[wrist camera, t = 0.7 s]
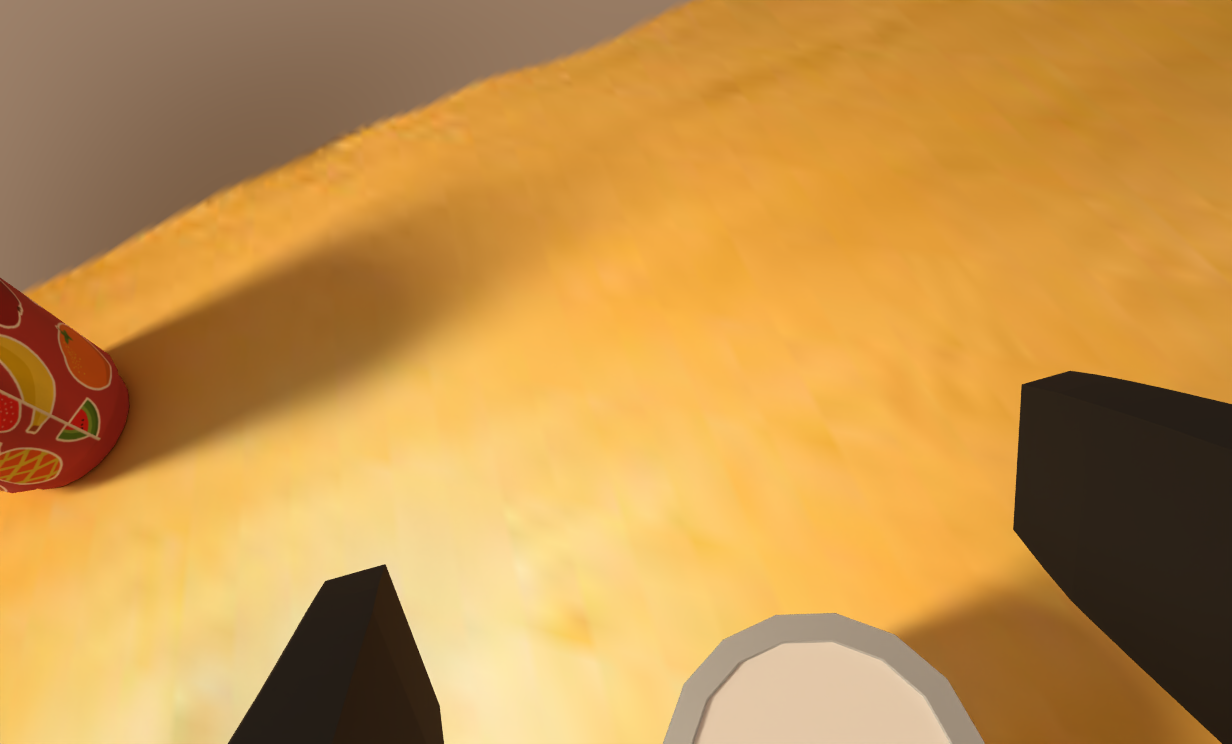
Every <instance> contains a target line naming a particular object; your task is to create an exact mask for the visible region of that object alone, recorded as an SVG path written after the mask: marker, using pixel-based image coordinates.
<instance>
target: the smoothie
mask: <svg viewBox="0 0 1232 744" xmlns="http://www.w3.org/2000/svg"><path fill="white" fill-rule="evenodd" d="M128 410H129V397H128V389H127V388H126V386H125V384H124V382H123V380H122V378H121V377H120V376H119V375H118V370H117V368H116V366H115V364H114V362H113V361H112V359H111V357H110V355H109V354H107V353H106V352H104V351H103V350H101V349H100V348H99V347H97V346H96V345H94V344H93V343H92V342H90V341H89V340H87V339H86V338H85V337H83V336H82V335H80V334H79V333H78V332H76V331H75V330H73V329H72V328H70V327H69V326H68V325H66V324H65V323H63V322H62V321H61V320H59V319H58V318H56V317H55V316H54V315H52V314H51V313H49V312H48V311H46V310H45V309H44V308H42V307H41V306H39V305H38V304H37V303H35V302H34V301H32V300H31V299H30V298H28V297H27V296H25V295H24V294H22V293H21V292H20V291H18V290H17V289H15V288H14V287H13V286H11V285H10V284H8V283H7V282H5V281H4V280H3V279H1V278H0V490H1V491H5V492H10V493H16V492H23V491H29V490H35V489H37V488H38V489H43V490H44V489H50V488H56V487H62V486H64V485H67V484H69V483H71V482H73V481H75V480H77V479H80V478H82V477H83V476H84V475H85V474H87V473H88V472H89V471H91V470H92V469H93V468H94V467H96V466H97V465H98V464H99V463H100V462H101V461H102V460H103V459H104V457H105V456H106V455H107V454H108V453H109V452H110V450H111V449H112V448H113V447H114V446H115V444H116V442H117V440H118V438H119V436H120V434H121V432H122V430H123V428H124V426H125V423H126V418H127V414H128Z"/></svg>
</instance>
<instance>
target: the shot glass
mask: <svg viewBox="0 0 1232 744" xmlns="http://www.w3.org/2000/svg"><path fill="white" fill-rule="evenodd" d="M663 744H985V743H984V741H983V739H982V737H981V736H980V734H979V732H978V731H977V729H976V727H975V725H974V724H973V722H972V720H971V719H970V717H969V715H968V713H967V712H966V710H965V708H964V707H963V705H962V703H961V701H960V700H959V698H958V696H957V695H956V693H955V691H954V689H953V688H952V686H951V684H950V683H949V681H948V679H947V678H946V677H944V676H943V675H942V674H941V673H940V672H938V671H937V670H936V669H935V668H934V667H932V666H931V665H930V664H929V663H928V662H927V661H925V660H924V659H923V658H922V657H921V656H919V655H918V654H917V653H916V652H915V651H914V650H912V649H911V648H910V647H909V646H908V645H906V644H905V643H904V642H903V641H902V640H901V639H899V638H898V637H897V636H896V635H894V634H891V633H889V632H886V631H883V630H880V629H878V628H875V627H872V626H869V625H867V624H864V623H861V622H858V621H856V620H853V619H850V618H847V617H845V616H842V615H839V614H836V613H823V614H794V615H775V616H773V617H771V618H768V619H766V620H764V621H762V622H760V623H758V624H756V625H753V626H751V627H749V628H747V629H745V630H743V631H741V632H739V633H736V634H734V635H732V636H730V637H728V638H726V639H724V640H723V641H722V642H721V643H720V644H719V645H718V646H717V647H716V648H715V650H714V651H713V652H712V653H711V654H710V655H709V656H708V657H707V659H706V660H705V661H704V662H703V663H702V664H701V665H700V666H699V668H698V669H697V670H696V671H695V672H694V673H693V674H692V675H691V677H690V678H689V679H688V680H687V681H686V682H685V683H684V685H683V688H682V691H681V694H680V697H679V699H678V702H677V705H676V708H675V711H674V714H673V716H672V719H671V722H670V725H669V728H668V731H667V733H666V736H665V739H664V742H663Z"/></svg>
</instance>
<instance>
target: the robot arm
mask: <svg viewBox="0 0 1232 744" xmlns="http://www.w3.org/2000/svg"><path fill="white" fill-rule="evenodd" d="M1013 530H1014V531H1015V532H1016V533H1017V535H1018V536H1019V537H1020V539H1021V540H1022V541H1023V542H1024V544H1025V545H1026V546H1027V548H1028V549H1029V550H1030V551H1031V553H1032V554H1033V555H1034V556H1035V558H1036V559H1037V560H1038V562H1039V563H1040V564H1041V565H1042V567H1043V568H1044V569H1045V570H1046V571H1047V573H1048V574H1049V575H1050V576H1051V577H1052V579H1053V580H1054V581H1055V582H1056V583H1057V584H1058V586H1059V587H1060V588H1061V589H1062V590H1063V591H1064V593H1065V594H1066V595H1067V596H1068V597H1069V599H1070V600H1071V601H1072V602H1073V603H1074V604H1075V605H1076V606H1077V607H1078V608H1079V609H1080V610H1081V611H1082V612H1083V613H1084V614H1085V615H1086V616H1087V617H1088V618H1089V619H1090V620H1092V621H1093V622H1094V623H1095V624H1096V625H1097V626H1098V627H1099V628H1100V629H1101V630H1102V631H1103V632H1104V633H1105V634H1106V635H1107V636H1108V637H1109V638H1110V639H1111V640H1112V641H1114V642H1115V643H1116V644H1117V645H1118V646H1119V647H1120V648H1121V649H1122V650H1123V651H1124V652H1125V653H1126V654H1127V655H1128V656H1129V657H1130V658H1131V659H1132V660H1133V661H1135V662H1136V663H1137V664H1138V665H1139V666H1140V667H1141V668H1142V669H1143V670H1144V671H1145V672H1146V673H1147V674H1148V675H1150V676H1151V677H1152V678H1153V679H1154V680H1155V681H1156V682H1157V683H1158V684H1159V685H1160V686H1161V687H1162V688H1163V689H1164V690H1166V691H1167V692H1168V693H1169V694H1170V695H1171V696H1172V697H1173V698H1174V699H1175V700H1176V701H1177V702H1178V703H1179V704H1181V705H1182V706H1183V707H1184V708H1185V709H1186V710H1187V711H1188V712H1189V713H1190V714H1191V715H1192V716H1193V717H1194V718H1195V719H1197V720H1198V721H1199V722H1200V723H1201V724H1202V725H1203V726H1204V727H1205V728H1206V729H1207V730H1208V731H1209V732H1210V733H1211V734H1213V735H1214V736H1215V737H1216V738H1217V739H1218V740H1219V741H1220V742H1221V743H1222V744H1232V404H1228V403H1224V402H1220V401H1216V400H1211V399H1207V398H1203V397H1198V396H1194V395H1190V394H1186V393H1181V392H1177V391H1173V390H1168V389H1164V388H1160V387H1155V386H1150V385H1146V384H1141V383H1136V382H1132V381H1127V380H1122V379H1117V378H1112V377H1106V376H1101V375H1095V374H1088V373H1081V372H1075V371H1068V372H1065V373H1061V374H1057V375H1054V376H1050V377H1047V378H1043V379H1040V380H1036V381H1033V382H1029V383H1026V384H1022V390H1021V407H1020V424H1019V441H1018V458H1017V475H1016V492H1015V510H1014V527H1013ZM228 744H444V740H443V731H442V723H441V714H440V706H439V703H438V700H437V698H436V695H435V692H434V690H433V687H432V685H431V682H430V679H429V677H428V674H427V672H426V669H425V666H424V664H423V661H422V659H421V656H420V653H419V651H418V648H417V645H416V643H415V640H414V638H413V635H412V632H411V630H410V627H409V625H408V622H407V619H406V617H405V614H404V612H403V609H402V606H401V604H400V601H399V598H398V596H397V593H396V591H395V588H394V585H393V583H392V580H391V578H390V575H389V572H388V570H387V567H386V565H385V564H384V565H381V566H377V567H374V568H370V569H366V570H363V571H359V572H356V573H352V574H349V575H345V576H342V577H338V578H335V579H331V580H327V581H325V582H324V584H323V586H322V587H321V589H320V590H319V592H318V593H317V595H316V597H315V598H314V600H313V602H312V603H311V605H310V607H309V608H308V610H307V612H306V613H305V615H304V617H303V618H302V620H301V622H300V624H299V625H298V627H297V629H296V630H295V632H294V634H293V636H292V637H291V639H290V641H289V643H288V644H287V646H286V648H285V649H284V651H283V653H282V655H281V656H280V658H279V660H278V661H277V663H276V665H275V667H274V668H273V670H272V672H271V673H270V675H269V677H268V678H267V680H266V682H265V684H264V685H263V687H262V689H261V690H260V692H259V694H258V695H257V697H256V699H255V700H254V702H253V704H252V705H251V707H250V709H249V710H248V712H247V713H246V715H245V717H244V718H243V720H242V721H241V723H240V725H239V726H238V728H237V730H236V731H235V733H234V734H233V736H232V738H231V739H230V741H229V743H228Z"/></svg>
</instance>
